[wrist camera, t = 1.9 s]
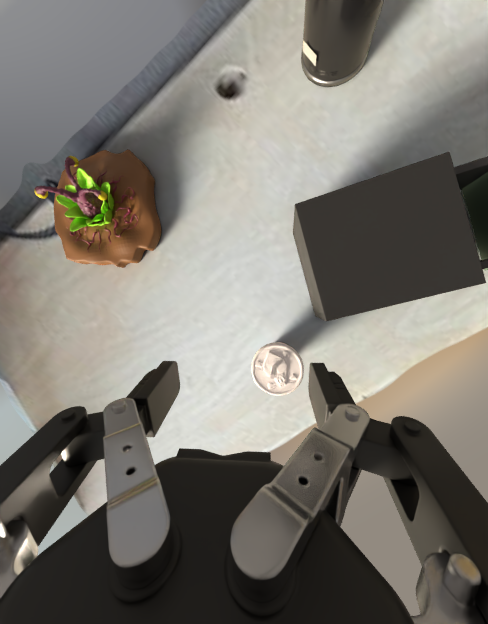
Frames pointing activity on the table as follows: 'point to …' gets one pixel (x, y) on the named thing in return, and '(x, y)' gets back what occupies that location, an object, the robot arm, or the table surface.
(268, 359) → the smoothie
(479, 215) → the drawer
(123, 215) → the plant
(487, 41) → the table surface
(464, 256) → the cabinet
